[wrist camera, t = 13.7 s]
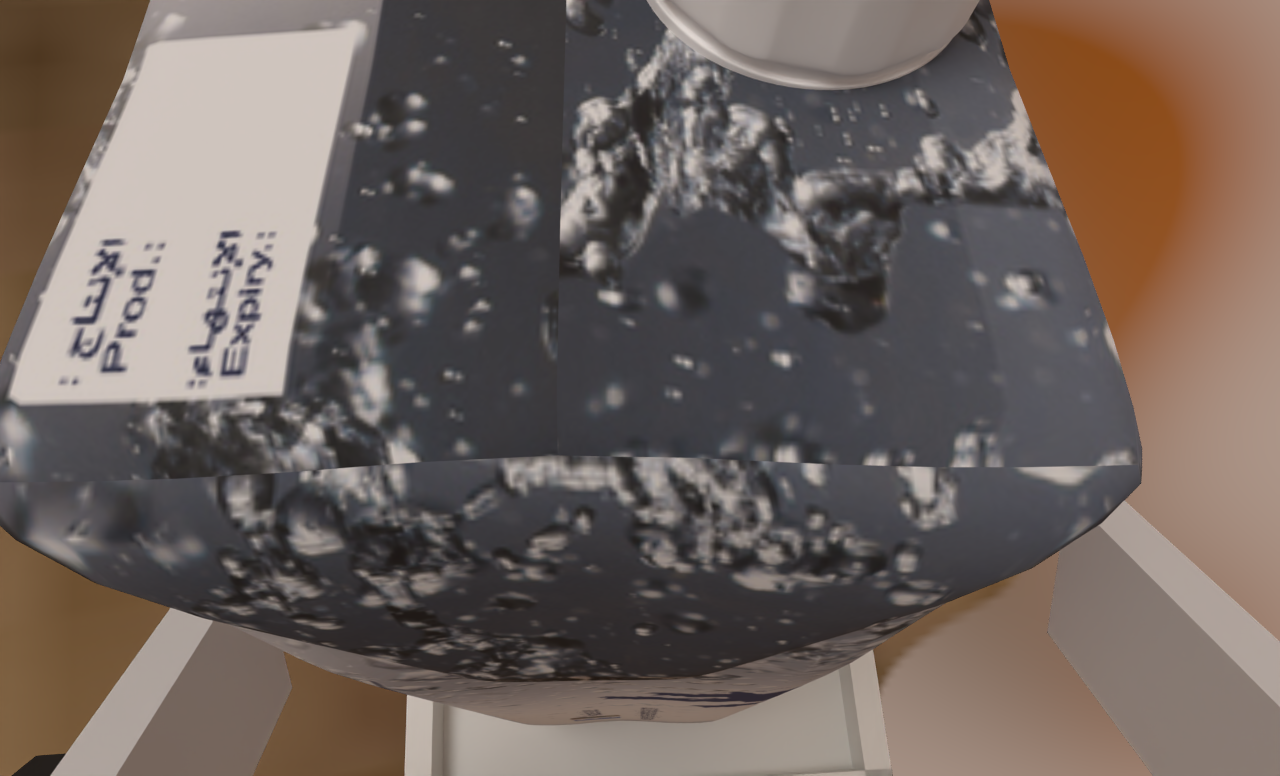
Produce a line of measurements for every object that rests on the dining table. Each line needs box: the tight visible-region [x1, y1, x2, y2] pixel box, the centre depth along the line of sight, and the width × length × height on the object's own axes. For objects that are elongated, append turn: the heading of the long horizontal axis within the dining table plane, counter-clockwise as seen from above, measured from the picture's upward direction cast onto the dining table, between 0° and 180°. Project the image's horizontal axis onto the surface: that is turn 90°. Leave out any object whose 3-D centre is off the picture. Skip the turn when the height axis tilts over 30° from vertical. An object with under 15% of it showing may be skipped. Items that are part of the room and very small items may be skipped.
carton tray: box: [405, 650, 893, 776], centre depth 31 cm, size 16×15×2 cm
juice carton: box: [0, 0, 1142, 726], centre depth 18 cm, size 9×10×27 cm
